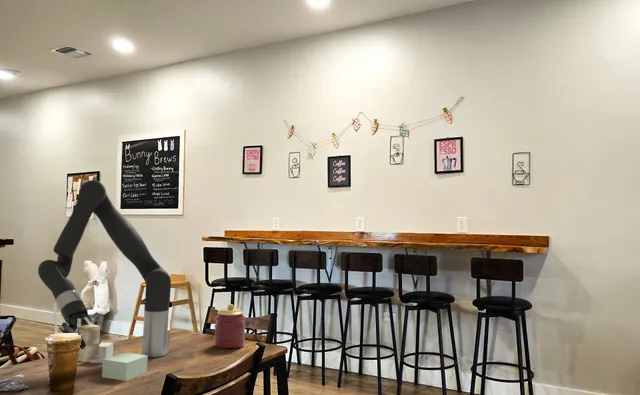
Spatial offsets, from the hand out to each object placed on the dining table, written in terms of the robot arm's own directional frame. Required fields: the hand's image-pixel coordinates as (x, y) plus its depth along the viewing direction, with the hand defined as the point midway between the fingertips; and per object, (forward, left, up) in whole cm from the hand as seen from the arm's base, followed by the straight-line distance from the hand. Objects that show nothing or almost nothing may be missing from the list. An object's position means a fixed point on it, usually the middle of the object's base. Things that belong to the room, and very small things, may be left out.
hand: (91, 345), depth 162 cm
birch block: (0, -2, -5) cm, 5 cm away
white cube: (-13, -12, -10) cm, 20 cm away
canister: (-58, +11, -10) cm, 60 cm away
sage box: (-7, +9, -10) cm, 15 cm away
